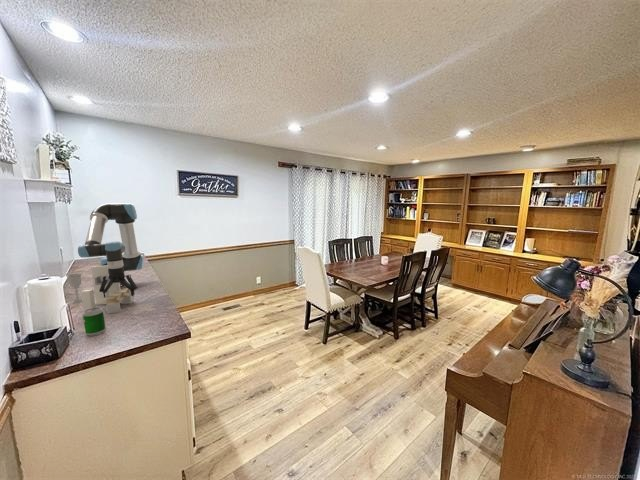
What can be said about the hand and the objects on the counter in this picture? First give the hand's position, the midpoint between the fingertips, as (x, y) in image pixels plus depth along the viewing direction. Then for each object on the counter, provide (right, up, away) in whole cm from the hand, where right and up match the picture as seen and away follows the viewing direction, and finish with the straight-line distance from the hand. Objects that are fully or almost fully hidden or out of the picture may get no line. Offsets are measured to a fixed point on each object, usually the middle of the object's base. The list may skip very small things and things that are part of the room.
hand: (120, 301), depth 161 cm
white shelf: (-12, -4, -1) cm, 13 cm away
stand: (0, -3, 0) cm, 3 cm away
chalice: (-35, -3, +10) cm, 37 cm away
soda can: (+12, -8, -32) cm, 35 cm away
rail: (0, +2, 0) cm, 2 cm away
